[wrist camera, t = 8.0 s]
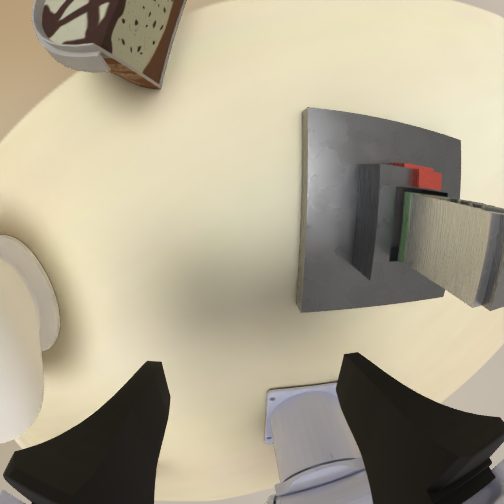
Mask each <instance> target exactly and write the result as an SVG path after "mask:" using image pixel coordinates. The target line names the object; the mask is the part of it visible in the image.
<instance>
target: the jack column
mask: <svg viewBox="0 0 504 504" xmlns="http://www.w3.org/2000/svg"><path fill="white" fill-rule="evenodd" d="M397 261H399V262H401V263H402V264H406V265H408V266H409V267H411V268H413V269H414V270H416V271H417V272H419V273H421V274H422V275H424V276H425V277H427V278H428V279H430V280H432V281H433V282H435V283H436V284H438V285H439V286H441V287H442V288H444V289H445V290H447V291H448V292H450V293H451V294H453V295H454V296H456V297H457V298H459V299H460V300H462V301H463V302H464V303H466V304H467V305H469V306H470V307H472V308H473V307H477V306H481V305H482V306H484V307H485V308H487V309H488V310H489V311H492V310H495V309H498V308H501V307H504V209H503V208H498V207H495V206H491V205H486V204H483V203H478V202H472V201H466V200H460V199H455V198H450V197H443V196H436V195H428V194H420V193H412V192H405V193H404V208H403V219H402V229H401V238H400V246H399V253H398V260H397Z"/></svg>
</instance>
